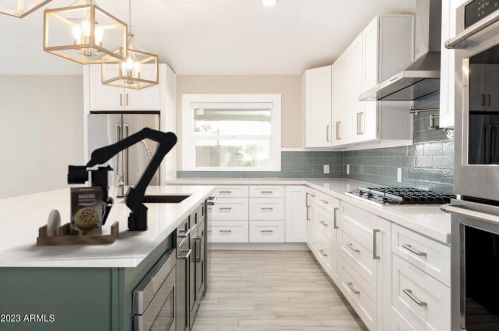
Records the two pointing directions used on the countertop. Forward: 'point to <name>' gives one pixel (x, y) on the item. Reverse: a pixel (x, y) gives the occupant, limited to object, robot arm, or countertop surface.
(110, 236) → the rack
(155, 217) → the countertop surface
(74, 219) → the coffee box
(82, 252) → the countertop surface
